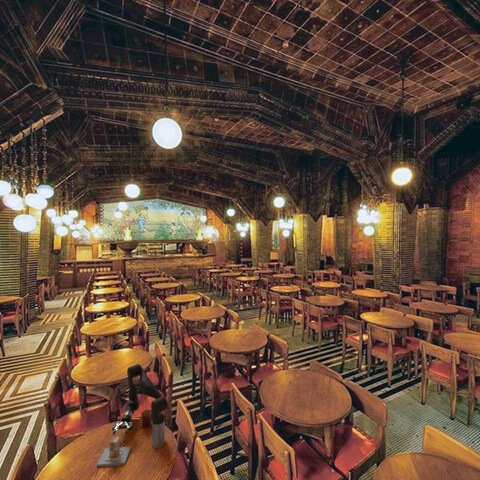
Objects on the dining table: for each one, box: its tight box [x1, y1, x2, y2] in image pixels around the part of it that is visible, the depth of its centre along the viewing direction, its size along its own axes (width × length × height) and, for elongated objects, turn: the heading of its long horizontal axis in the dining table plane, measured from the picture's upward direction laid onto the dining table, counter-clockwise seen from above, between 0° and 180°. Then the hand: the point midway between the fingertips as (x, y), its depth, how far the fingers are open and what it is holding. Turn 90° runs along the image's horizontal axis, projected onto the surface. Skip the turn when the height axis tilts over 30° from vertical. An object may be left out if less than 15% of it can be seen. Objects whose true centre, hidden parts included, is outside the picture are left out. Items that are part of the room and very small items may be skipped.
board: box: [96, 446, 132, 468], centre depth 189 cm, size 18×14×2 cm
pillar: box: [108, 436, 120, 458], centre depth 189 cm, size 5×5×11 cm
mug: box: [140, 408, 152, 429], centre depth 223 cm, size 12×9×10 cm
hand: (119, 433), depth 200 cm, fingers open, 8 cm apart
